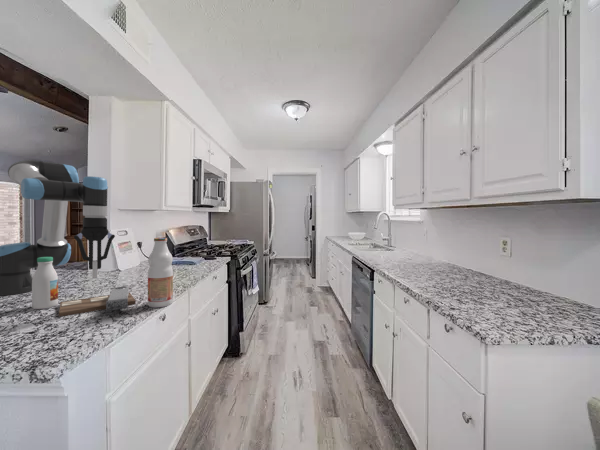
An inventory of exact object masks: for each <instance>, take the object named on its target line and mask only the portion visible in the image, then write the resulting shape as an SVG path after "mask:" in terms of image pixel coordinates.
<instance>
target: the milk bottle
mask: <svg viewBox="0 0 600 450" xmlns="http://www.w3.org/2000/svg"><path fill="white" fill-rule="evenodd" d="M52 262H53V257H40V258H37V263H38V267H37V268H36V270H35V272H34V273H33V275H32V291H31V309H33V310H43V309H45V310H46V309H49V308H50V309H51V308H54V307H56V306H58V305H59V277H58V273H57V271H56V270H55V268H54V266H53V265H52Z"/></svg>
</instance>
